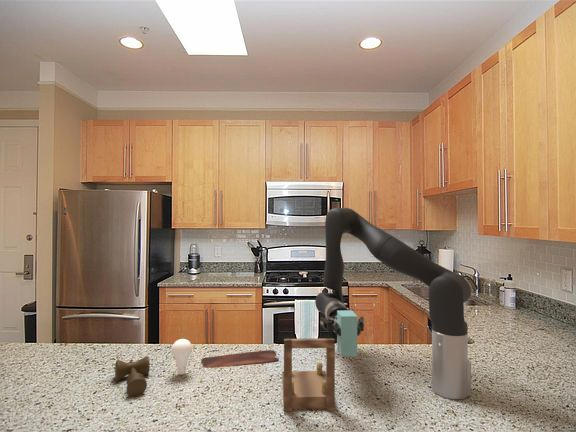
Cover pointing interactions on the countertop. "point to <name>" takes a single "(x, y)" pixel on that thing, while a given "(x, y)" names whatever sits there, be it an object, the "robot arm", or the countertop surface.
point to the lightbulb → (181, 354)
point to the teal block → (347, 333)
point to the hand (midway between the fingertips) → (348, 332)
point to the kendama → (133, 375)
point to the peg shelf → (309, 378)
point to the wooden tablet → (240, 359)
